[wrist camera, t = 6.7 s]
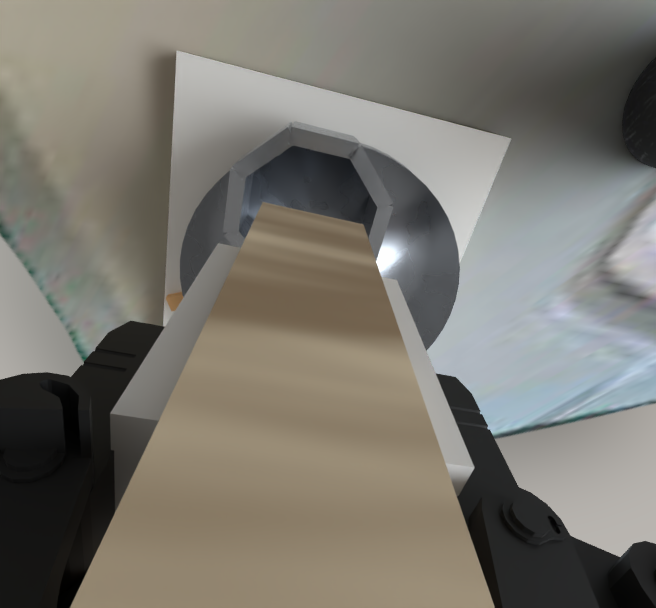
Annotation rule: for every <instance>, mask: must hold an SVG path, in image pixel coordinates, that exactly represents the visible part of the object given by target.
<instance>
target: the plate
mask: <svg viewBox="0 0 656 608" xmlns="http://www.w3.org/2000/svg"><path fill="white" fill-rule="evenodd" d="M294 121H296V122H300V123H304V124H308V125H312V126H316V127H320V128H324V129H328V130H332V131H336V132H340V133H344V134H348V135H352V136H354V137H355V138H357V140H358V141H359V143H362V144H365V145H368V146H371V147H374V148H376V149H378V150H380V151H382V152H384V153H386V154H388V155H390V156H391V157H393V158H394V159H395V160H397V161H398V162H400V163H401V164H403V165H404V166H405V167H406V168H408V169H409V170H410V171H411V172H412V173H413V174H414V175H415V176H416V177H417V178H418V179H419V180H421V181H422V182H423V183H424V184H425V185H426V186H427V187H428V189H429V190H430V191H431V192H432V194H433V195H434V196H435V197H436V198H437V200H438V201H439V203H440V204H441V206H442V208H443V210H444V211H445V213H446V215H447V216H448V219H449V221H450V224H451V226H452V229H453V231H454V234H455V238H456V243H457V247H458V253H459V264H460V261H461V259H462V257H463V254H464V252H465V249H466V247H467V245H468V242H469V240H470V237H471V235H472V233H473V230H474V228H475V225H476V223H477V220H478V218H479V216H480V213H481V211H482V208H483V206H484V204H485V201H486V199H487V196H488V194H489V192H490V189H491V187H492V184H493V182H494V179H495V177H496V175H497V172H498V170H499V167H500V165H501V163H502V160H503V158H504V155H505V153H506V151H507V148H508V146H509V143H510V141H511V138H508V137H504V136H500V135H497V134H493V133H489V132H485V131H482V130H478V129H474V128H470V127H466V126H463V125H459V124H455V123H451V122H447V121H444V120H440V119H436V118H432V117H428V116H425V115H421V114H417V113H413V112H410V111H406V110H402V109H398V108H394V107H391V106H387V105H383V104H379V103H375V102H372V101H368V100H364V99H360V98H356V97H353V96H349V95H345V94H341V93H337V92H334V91H330V90H326V89H322V88H318V87H315V86H311V85H307V84H303V83H299V82H296V81H292V80H288V79H284V78H280V77H277V76H273V75H269V74H265V73H261V72H258V71H254V70H250V69H246V68H242V67H239V66H235V65H231V64H227V63H223V62H220V61H216V60H212V59H208V58H205V57H201V56H197V55H193V54H189V53H185V52H181V51H177V55H176V75H175V95H174V115H173V135H172V155H171V175H170V195H169V215H168V235H167V255H166V275H165V296H164V316H163V327H165V326H166V324H167V323H168V321H169V320H170V318H171V317H172V315H173V313H174V312H175V310H176V309H177V307H178V306H179V304H180V302H181V301H182V299H183V295H182V288H181V282H180V256H181V249H182V243H183V240H184V236H185V233H186V230H187V227H188V224H189V222H190V220H191V218H192V216H193V214H194V212H195V210H196V208H197V207H198V205H199V204H200V202H201V201H202V199H203V198H204V196H205V195H206V194H207V193H208V192H209V190H210V189H211V188H212V187H213V186H214V185H215V184H216V183H217V182H218V181H219V180H220V179H221V178H222V177H223V176H224V175H225V174H226V173H227V172H228V171H229V170H230V169H231V168H232V165H233V164H235V163H236V162H237V161H238V160H239V159H240V158H241V157H242V156H243V155H244V154H246V153H247V152H249V151H250V150H252V149H253V148H254V147H256V146H257V145H259V144H260V143H262V142H263V141H264V140H266V139H267V138H269V137H270V136H272V135H273V134H274V133H276V132H277V131H279V130H280V129H282V128H283V127H284V126H286V125H287V124H289V123H290V122H292V123H294Z"/></svg>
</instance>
